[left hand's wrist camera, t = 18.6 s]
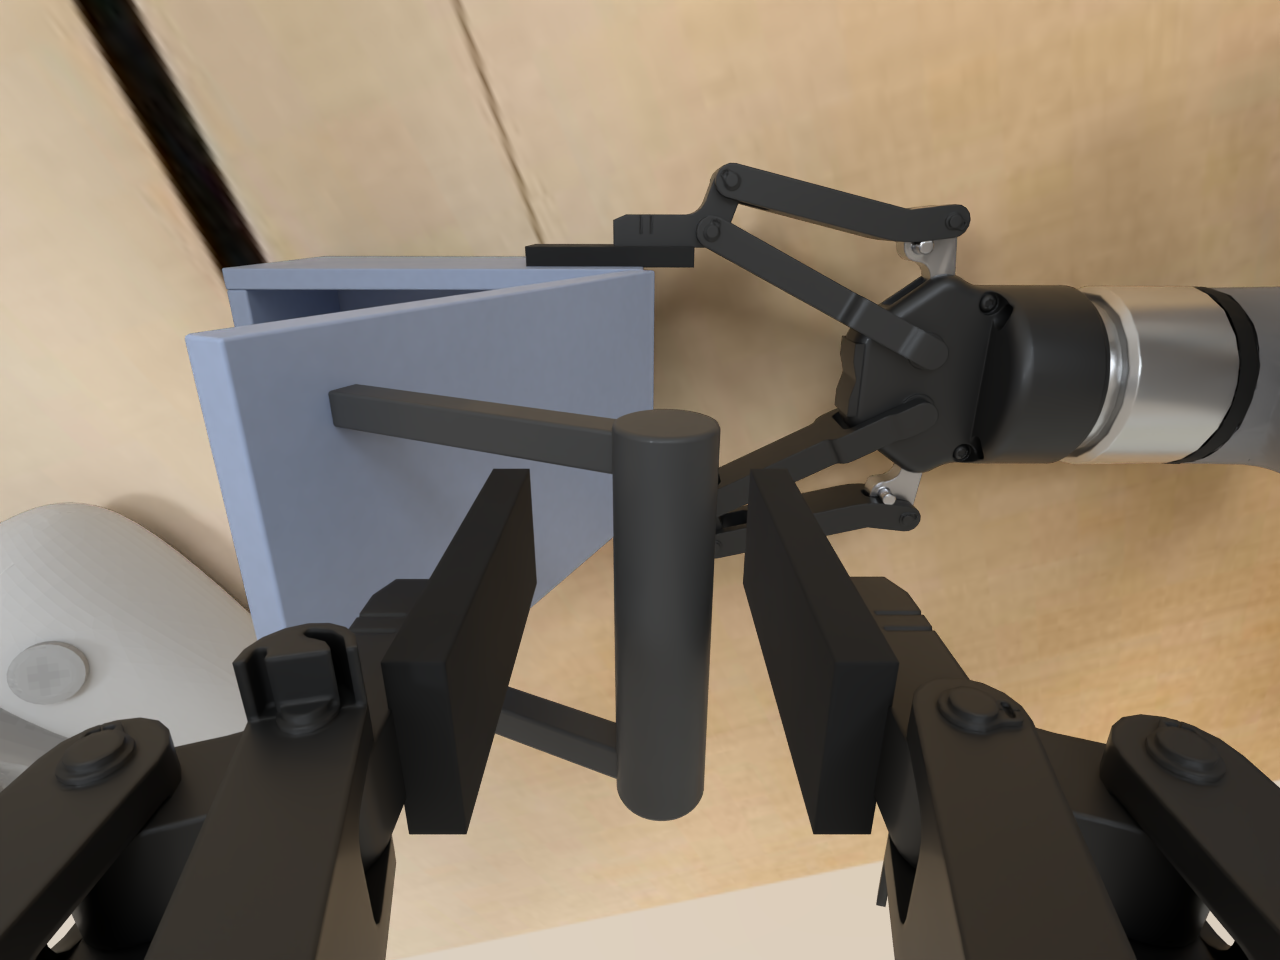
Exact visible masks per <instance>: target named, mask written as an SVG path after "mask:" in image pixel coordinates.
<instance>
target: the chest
mask: <svg viewBox="0 0 1280 960" xmlns="http://www.w3.org/2000/svg"><path fill="white" fill-rule="evenodd" d="M628 270H643V267H564V266H526V257H440V256H323V257H314V258H306V259H298V260H289V261H281V262H272V263H264V264H255V265H247V266H238V267H230V268H223V269H222V271H223V276H224V281H225V285H226V289H229V290H228V291H227V293H228V297H229V302H230V307H231V311H232V316H233V321H234V326H235V327H239V326H246V325H253V324H260V323H267V322H274V321H281V320H288V319H295V318H302V317H309V316H316V315H323V314H330V313H337V312H344V311H351V310H358V309H364V308H371V307H378V306H385V305H392V304H399V303H406V302H413V301H420V300H427V299H434V298H441V297H448V296H455V295H462V294H469V293H476V292H482V291H489V290H496V289H503V288H510V287H517V286H524V285H531V284H538V283H545V282H552V281H559V280H566V279H573V278H580V277H587V276H594V275H601V274H607V273H614V272H621V271H628Z"/></svg>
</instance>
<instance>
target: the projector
mask: <svg viewBox="0 0 1280 960" xmlns="http://www.w3.org/2000/svg"><path fill="white" fill-rule="evenodd" d="M256 641H257V638H256V634H255V629H254V625H253V621H252V617H251V614H250V613H249V612H248V611H247V610H246V609H244V608H243V607H242V606H241V605H240V604H239V603H238V602H237V601H236V600H235V599H233V598H232V597H231V596H230V595H229V594H228V593H227V592H226V591H225V590H224V589H222V588H221V587H220V586H219V585H218V584H217V583H215V582H214V581H213V580H212V579H211V578H210V577H208V576H207V575H206V574H205V573H204V572H203V571H201V570H200V569H199V568H198V567H197V566H195V565H194V564H193V563H192V562H190V561H189V560H188V559H187V558H185V557H184V556H183V555H182V554H180V553H179V552H178V551H177V550H175V549H174V548H172V547H171V546H170V545H168V544H167V543H166V542H164V541H163V540H162V539H160V538H159V537H158V536H156V535H155V534H153V533H152V532H150V531H148V530H147V529H145V528H144V527H142V526H141V525H139V524H138V523H136V522H134V521H132V520H130V519H128V518H127V517H125V516H123V515H121V514H119V513H116V512H114V511H111V510H109V509H106V508H102V507H99V506H95V505H89V504H83V503H57V504H50V505H45V506H40V507H37V508H34V509H31V510H28V511H25V512H23V513H20V514H18V515H16V516H13V517H11V518H9V519H7V520H5V521H3V522H1V523H0V792H1V791H3V790H4V789H5V788H6V787H7V786H8V785H9V784H10V783H12V782H13V781H14V780H15V779H16V778H17V777H18V776H19V775H20V774H22V773H23V772H24V771H25V770H26V769H27V768H28V767H29V766H31V765H32V764H33V763H34V762H35V761H36V760H37V759H38V758H40V757H41V756H43V755H44V754H45V753H47V752H48V751H50V750H51V749H52V748H54V747H55V746H56V745H58V744H59V743H61V742H62V741H64V740H66V739H68V738H71V737H73V736H75V735H77V734H79V733H81V732H83V731H84V730H86V729H89V728H91V727H94V726H97V725H102V724H103V723H108V722H112V721H115V720H122V719H130V718H139V717H141V718H148V719H154V720H159V721H160V722H161V723H162V724H164V725H165V726H166V727H167V728H168V729H169V731H170V734H171V737H172V740H173V743H174V747H176V746H181V745H186V744H190V743H195V742H200V741H204V740H209V739H214V738H218V737H223V736H227V735H231V734H234V733H238V732H241V731H244V729H245V727H246V724H247V718H246V714H245V710H244V706H243V703H242V699H241V695H240V691H239V687H238V684H237V680H236V676H235V672H234V668H233V665H232V662H233V661H234V660H235V659H236V658H237V657H238V655H239V654H240V653H241V652H242V651H243V650H244V649H245V648H247V647H248V646H250V645H251V644H253V643H254V642H256Z"/></svg>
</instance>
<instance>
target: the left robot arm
mask: <svg viewBox="0 0 1280 960" xmlns="http://www.w3.org/2000/svg"><path fill="white" fill-rule="evenodd" d="M536 585H537V576H536V560H535V544H534V528H533V512H532V497H531V481H530V469H493V470H492V472H491V474H490V475H489V477H488V479H487V480H486V482H485V484H484V486H483V487H482V489H481V491H480V492H479V494H478V496H477V498H476V499H475V501H474V503H473V504H472V506H471V508H470V510H469V511H468V513H467V515H466V516H465V518H464V520H463V522H462V523H461V525H460V527H459V528H458V530H457V532H456V534H455V535H454V537H453V539H452V541H451V542H450V544H449V546H448V547H447V549H446V551H445V553H444V554H443V556H442V558H441V559H440V561H439V563H438V565H437V566H436V568H435V570H434V571H433V573H432V575H431V577H430V578H429V579H395V580H394V581H392V582H391V583H389V584H388V585H386V586H385V587H384V588H382V589H381V590H379V591H378V592H376V593H375V594H373V595H372V596H371V598H370V599H369V601H368V602H367V604H366V605H365V606H364V608H363V609H362V611H361V612H360V613H359V617H357V618H356V619H355V621H354V622H353V623H352V625H351V626H350V628H349V629H348V628H347V627H344V626H340V625H336V624H332V623H307V624H302V625H298V626H293V627H288V628H284V629H282V630H279V631H277V632H274V633H272V634H269V635H267V636H264V637H262V638H260V639H259V640H257V641H256V642H254V643H253V644H251V645H250V646H248V647H247V648H245V649H244V650H243V651H242V652H241V653H240V654H239V655H238V657H237V658H236V659H235V660H234V661H233V662H232V665H233V668H234V672H235V676H236V680H237V684H238V687H239V691H240V695H241V699H242V703H243V706H244V710H245V714H246V718H247V724H246V727H245V729H244V731H241V732H238V733H234V734H231V735H227V736H223V737H218V738H214V739H209V740H204V741H200V742H195V743H190V744H186V745H181V746H176V747H174V743H173V740H172V737H171V734H170V731H169V729H168V728H167V727H166V726H165V725H164V724H162V723H161V722H160V721H159V720H154V719H148V718H141V717H139V718H130V719H122V720H115V721H112V722H108V723H103V724H102V725H97V726H94V727H91V728H89V729H86V730H84V731H83V732H81V733H79V734H77V735H75V736H73V737H71V738H68V739H66V740H64V741H62V742H61V743H59V744H58V745H56V746H55V747H54V748H52V749H51V750H50V751H48V752H47V753H45V754H44V755H43V756H41V757H40V758H38V759H37V760H36V761H35V762H34V763H33V764H32V765H31V766H29V767H28V768H27V769H26V770H25V771H24V772H23V773H22V774H20V775H19V776H18V777H17V778H16V779H15V780H14V781H13V782H12V783H10V784H9V785H8V786H7V787H6V788H5V789H4V790H3V791H1V792H0V960H385V958H386V949H387V940H388V931H389V922H390V913H391V904H392V895H393V886H394V877H395V868H396V858H395V851H394V845H393V839H392V832H393V830H394V828H395V825H396V823H397V820H398V818H399V815H400V813H401V810H402V808H403V805H404V806H405V812H406V818H407V824H408V830H409V834H467V831H468V827H469V823H470V820H471V816H472V813H473V809H474V806H475V802H476V799H477V795H478V791H479V788H480V784H481V781H482V777H483V774H484V770H485V767H486V763H487V759H488V756H489V752H490V749H491V745H492V742H493V738H494V735H495V731H496V727H497V724H498V720H499V717H500V713H501V710H502V706H503V702H504V699H505V695H506V692H507V688H508V685H509V681H510V678H511V674H512V670H513V667H514V663H515V660H516V656H517V653H518V649H519V646H520V642H521V638H522V635H523V631H524V628H525V624H526V621H527V617H528V614H529V610H530V606H531V603H532V599H533V596H534V592H535V589H536ZM743 585H744V589H745V592H746V596H747V599H748V603H749V606H750V610H751V614H752V617H753V621H754V624H755V628H756V631H757V635H758V638H759V642H760V646H761V649H762V653H763V656H764V660H765V663H766V667H767V670H768V674H769V678H770V681H771V685H772V688H773V692H774V695H775V699H776V702H777V706H778V710H779V713H780V717H781V720H782V724H783V727H784V731H785V735H786V738H787V742H788V745H789V749H790V752H791V756H792V759H793V763H794V767H795V770H796V774H797V777H798V781H799V784H800V788H801V791H802V795H803V799H804V802H805V806H806V809H807V813H808V816H809V820H810V823H811V827H812V831H813V834H871V830H872V824H873V818H874V812H875V806H876V802H877V804H878V807H879V809H880V812H881V814H882V817H883V819H884V822H885V824H886V826H887V829H888V831H889V834H888V839H887V845H886V850H885V856H884V861H883V867H882V872H881V878H880V883H879V889H878V896H877V903H876V905H879V906H884V907H885V906H886V901H887V896H888V902H889V911H890V920H891V929H892V938H893V947H894V956H895V960H1280V788H1279V787H1278V786H1277V785H1276V784H1275V783H1274V782H1272V781H1271V780H1270V779H1269V778H1268V777H1267V776H1266V775H1265V774H1263V773H1262V772H1261V771H1260V770H1259V769H1258V768H1257V767H1256V766H1254V765H1253V764H1252V763H1251V762H1250V761H1249V760H1248V759H1246V758H1245V757H1244V756H1243V755H1242V754H1240V753H1239V752H1237V751H1236V750H1235V749H1233V748H1232V747H1230V746H1229V745H1228V744H1226V743H1225V742H1224V741H1222V740H1221V739H1219V738H1217V737H1215V736H1213V735H1211V734H1209V733H1207V732H1205V731H1203V730H1201V729H1199V728H1197V727H1195V726H1193V725H1190V724H1187V723H1184V722H1179V721H1178V720H1174V719H1169V718H1166V717H1159V716H1151V715H1142V714H1140V715H1133V716H1127V717H1122V718H1121V719H1120V720H1119V721H1117V722H1116V723H1115V724H1114V725H1113V726H1112V728H1111V731H1110V734H1109V737H1108V740H1107V743H1106V744H1104V743H1099V742H1094V741H1090V740H1085V739H1080V738H1076V737H1071V736H1066V735H1062V734H1057V733H1053V732H1049V731H1046V730H1042V729H1038V728H1035V725H1034V723H1033V721H1032V720H1031V718H1030V717H1029V715H1028V714H1027V713H1026V711H1025V710H1024V709H1023V707H1022V706H1021V705H1020V704H1018V703H1017V702H1016V701H1014V700H1013V699H1012V698H1010V697H1009V696H1008V695H1006V694H1005V693H1003V692H1001V691H999V690H997V689H994V688H992V687H990V686H988V685H986V684H984V683H980V682H976V681H972V680H970V679H969V678H968V677H967V675H966V674H965V672H964V671H963V670H962V668H961V667H960V665H959V664H958V663H957V661H956V660H955V658H954V657H953V656H952V654H951V653H950V651H949V650H948V649H947V647H946V646H945V644H944V643H943V641H942V640H941V639H940V637H939V636H938V634H937V633H936V632H935V631H932V626H931V625H930V623H929V622H928V620H927V619H926V618H925V616H924V615H921V611H920V609H919V608H918V606H917V605H916V604H915V602H914V601H913V599H912V598H911V597H910V595H909V594H908V593H907V592H906V591H904V590H903V589H902V588H900V587H899V586H897V585H896V584H894V583H893V582H891V581H890V580H888V579H887V578H885V577H849V575H848V573H847V571H846V570H845V568H844V566H843V565H842V563H841V561H840V559H839V558H838V556H837V554H836V553H835V551H834V549H833V547H832V546H831V544H830V542H829V541H828V539H827V537H826V535H825V534H824V532H823V530H822V528H821V527H820V525H819V523H818V522H817V520H816V518H815V516H814V515H813V513H812V511H811V510H810V508H809V506H808V504H807V503H806V501H805V499H804V498H803V496H802V494H801V492H800V491H799V489H798V487H797V486H796V484H795V482H794V480H793V479H792V477H791V475H790V474H789V472H788V470H787V469H750V481H749V497H748V512H747V528H746V544H745V560H744V576H743ZM1209 911H1211V912H1212V913H1213V915H1214V916H1215V917H1216V918H1217V920H1218V921H1219V922H1220V923H1221V924H1222V926H1223V927H1224V928H1225V929H1226V930H1227V932H1228V933H1229V934H1230V935H1231V936H1232V938H1233V939H1234V940H1235V941H1234V943H1233V945H1232V946H1230V945H1228V944H1227V943H1226V942H1225V941H1223V940H1222V939H1221V938H1220V937H1219V936H1218V935H1217V934H1216V932H1215V931H1214V930H1213V929H1212V927H1211V926H1210V925H1209V924H1208V922H1207V921H1206V918H1207V916H1208V913H1209ZM71 914H72V916H73V918H74V920H75V924H74V925H73V927H72V928H71V929H70V930H69V931H68V933H67V934H66V935H65V936H64V937H63V938H62V939H61V940H60V941H59V942H58V943H57V944H56V945H55V946H54V947H52V948H51V949H50V948H49V947H48V946H47V943H48V942H49V940H50V939H51V938H52V937H53V936H54V934H55V933H56V932H57V931H58V930H59V928H60V927H61V926H62V925H63V923H64V922H65V921H66V920H67V919H68V917H69V916H70V915H71Z"/></svg>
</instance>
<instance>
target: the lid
mask: <svg viewBox="0 0 1280 960" xmlns="http://www.w3.org/2000/svg"><path fill="white" fill-rule="evenodd" d="M185 342H186V346H187V350H188V354H189V359H190V363H191V367H192V371H193V375H194V379H195V384H196V388H197V392H198V396H199V400H200V404H201V409H202V413H203V417H204V421H205V425H206V429H207V434H208V438H209V442H210V446H211V450H212V454H213V459H214V463H215V467H216V471H217V475H218V479H219V484H220V488H221V492H222V496H223V500H224V504H225V509H226V513H227V517H228V521H229V525H230V529H231V534H232V538H233V542H234V546H235V550H236V554H237V559H238V563H239V567H240V571H241V575H242V579H243V584H244V588H245V592H246V596H247V600H248V604H249V609H250V613H251V617H252V621H253V625H254V629H255V634H256V638H257V640H259V639H260V638H262V637H264V636H267V635H269V634H272V633H274V632H277V631H279V630H282V629H284V628H288V627H293V626H298V625H302V624H307V623H332V624H336V625H340V626H344V627H347V628H348V629H349V628H350V626H351V625H352V623H353V622H354V621H355V619H356V618H357V617H359V613H360V612H361V611H362V609H363V608H364V606H365V605H366V604H367V602H368V601H369V599H370V598H371V596H372V595H373V594H375V593H376V592H378V591H379V590H381V589H382V588H384V587H385V586H386V585H388V584H389V583H391V582H392V581H394V580H395V579H429V578H430V577H431V575H432V573H433V571H434V570H435V568H436V566H437V565H438V563H439V561H440V559H441V558H442V556H443V554H444V553H445V551H446V549H447V547H448V546H449V544H450V542H451V541H452V539H453V537H454V535H455V534H456V532H457V530H458V528H459V527H460V525H461V523H462V522H463V520H464V518H465V516H466V515H467V513H468V511H469V510H470V508H471V506H472V504H473V503H474V501H475V499H476V498H477V496H478V494H479V492H480V491H481V489H482V487H483V486H484V484H485V482H486V480H487V479H488V477H489V475H490V474H491V472H492V470H493V469H530V481H531V497H532V512H533V528H534V544H535V560H536V576H537V585H536V589H535V592H534V596H533V599H532V603H531V606H530V608H531V607H532V606H533V605H535V604H536V603H537V602H538V601H539V600H540V599H542V598H543V597H544V596H545V595H546V594H547V593H549V592H550V591H551V590H552V589H553V588H554V587H556V586H557V585H558V584H559V583H560V582H561V581H563V580H564V579H565V578H566V577H567V576H568V575H570V574H571V573H572V572H573V571H574V570H575V569H577V568H578V567H579V566H580V565H581V564H582V563H584V562H585V561H586V560H587V559H588V558H589V557H591V556H592V555H593V554H594V553H595V552H596V551H598V550H599V549H600V548H601V547H602V546H603V545H605V544H606V543H607V542H608V541H609V540H610V539H612V538H613V549H614V619H615V689H616V723H615V722H612V721H609V720H606V719H603V718H600V717H597V716H594V715H591V714H588V713H585V712H582V711H579V710H576V709H573V708H570V707H567V706H564V705H561V704H559V703H556V702H553V701H550V700H547V699H544V698H541V697H538V696H535V695H532V694H529V693H526V692H523V691H520V690H517V689H514V688H511V687H508V688H507V692H506V695H505V699H504V702H503V706H502V710H501V713H500V717H499V720H498V724H497V727H496V731H495V734H498V735H501V736H503V737H506V738H509V739H511V740H514V741H517V742H519V743H522V744H525V745H527V746H530V747H533V748H536V749H538V750H541V751H544V752H546V753H549V754H552V755H554V756H557V757H560V758H562V759H565V760H568V761H570V762H573V763H576V764H578V765H581V766H584V767H586V768H589V769H592V770H594V771H597V772H600V773H602V774H605V775H608V776H610V777H613V778H616V779H617V790H618V794H619V796H620V798H621V800H622V802H623V803H624V804H625V806H626V807H627V808H628V809H629V810H631V811H632V812H633V813H635V814H636V815H638V816H640V817H643V818H646V819H649V820H655V821H668V820H674V819H677V818H680V817H682V816H684V815H686V814H688V813H689V812H691V811H692V810H693V809H694V808H695V807H696V805H697V804H698V803H699V801H700V799H701V797H702V795H703V791H704V772H705V750H706V729H707V707H708V685H709V664H710V642H711V620H712V599H713V577H714V555H715V534H716V512H717V490H718V469H719V447H720V426H719V424H718V422H717V421H716V420H715V419H713V418H711V417H709V416H706V415H703V414H700V413H696V412H691V411H685V410H674V409H655V410H653V385H654V271H652V270H628V271H621V272H614V273H607V274H601V275H594V276H587V277H580V278H573V279H566V280H559V281H552V282H545V283H538V284H531V285H524V286H517V287H510V288H503V289H496V290H489V291H482V292H476V293H469V294H462V295H455V296H448V297H441V298H434V299H427V300H420V301H413V302H406V303H399V304H392V305H385V306H378V307H371V308H364V309H358V310H351V311H344V312H337V313H330V314H323V315H316V316H309V317H302V318H295V319H288V320H281V321H274V322H267V323H260V324H253V325H246V326H239V327H233V328H226V329H219V330H212V331H205V332H198V333H191V334H188V335H186V336H185Z"/></svg>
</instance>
